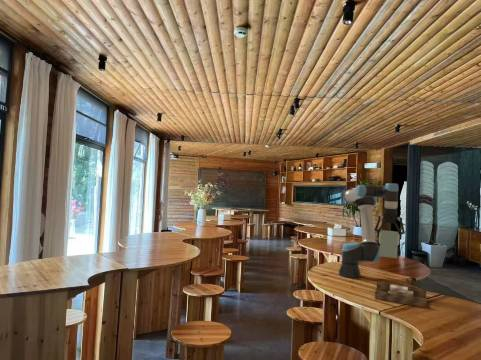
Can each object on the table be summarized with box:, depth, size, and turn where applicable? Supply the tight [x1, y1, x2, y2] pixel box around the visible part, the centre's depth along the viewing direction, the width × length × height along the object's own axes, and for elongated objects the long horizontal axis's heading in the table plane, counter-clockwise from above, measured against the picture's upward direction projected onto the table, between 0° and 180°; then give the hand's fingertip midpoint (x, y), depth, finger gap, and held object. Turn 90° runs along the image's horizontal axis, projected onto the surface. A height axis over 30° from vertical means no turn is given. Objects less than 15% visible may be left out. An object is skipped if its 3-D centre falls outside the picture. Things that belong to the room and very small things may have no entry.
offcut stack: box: [388, 284, 413, 297], centre depth 194 cm, size 13×6×6 cm, turn 64°
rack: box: [374, 280, 428, 309], centre depth 196 cm, size 26×15×6 cm, turn 64°
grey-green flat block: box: [379, 229, 399, 259], centre depth 213 cm, size 10×2×16 cm, turn 64°
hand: (388, 243), depth 213 cm, fingers closed on grey-green flat block, 10 cm apart
